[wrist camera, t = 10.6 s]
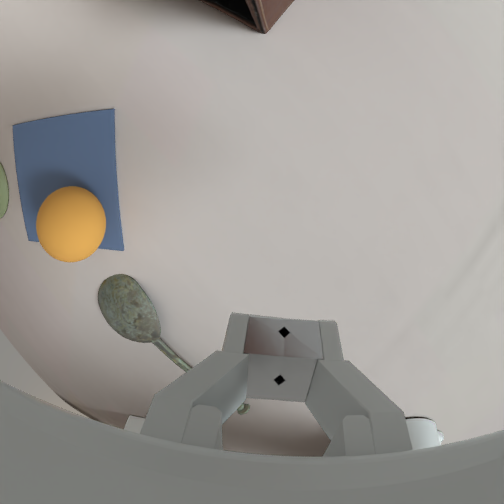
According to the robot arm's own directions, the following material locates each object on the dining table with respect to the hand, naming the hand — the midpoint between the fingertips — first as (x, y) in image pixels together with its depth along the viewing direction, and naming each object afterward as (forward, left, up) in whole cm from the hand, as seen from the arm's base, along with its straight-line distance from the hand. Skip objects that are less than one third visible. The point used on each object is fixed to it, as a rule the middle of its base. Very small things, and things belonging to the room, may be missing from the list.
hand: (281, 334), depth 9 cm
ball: (-3, +16, -12) cm, 20 cm away
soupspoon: (-18, +9, -16) cm, 25 cm away
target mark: (0, +19, -15) cm, 24 cm away
